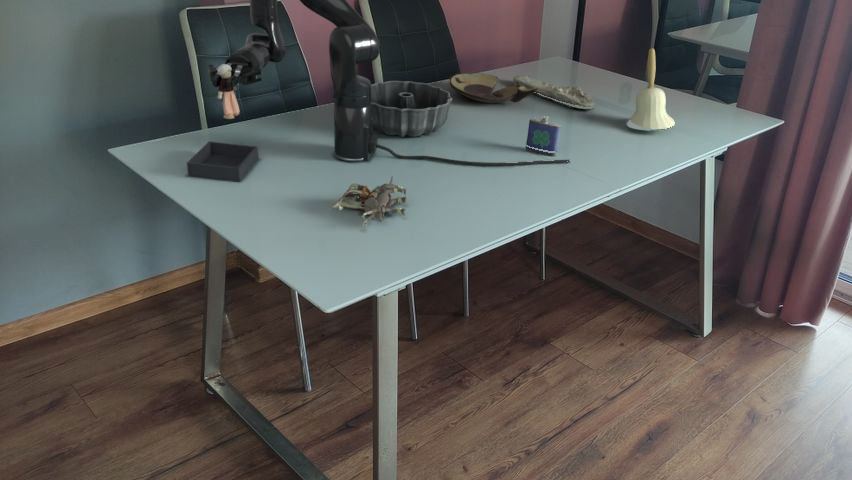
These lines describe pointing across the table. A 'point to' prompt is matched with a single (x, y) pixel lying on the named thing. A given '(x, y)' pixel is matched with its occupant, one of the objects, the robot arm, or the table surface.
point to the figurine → (372, 200)
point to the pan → (223, 161)
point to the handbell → (651, 102)
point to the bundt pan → (408, 108)
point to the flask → (543, 136)
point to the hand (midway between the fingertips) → (221, 83)
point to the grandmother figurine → (227, 93)
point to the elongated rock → (556, 91)
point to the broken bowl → (487, 88)
